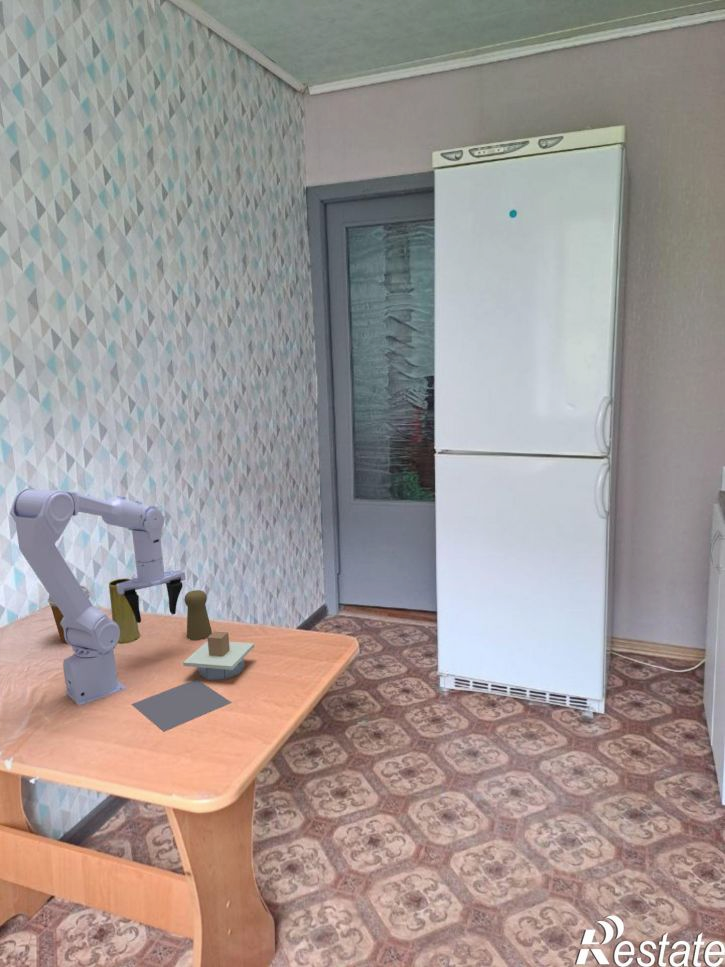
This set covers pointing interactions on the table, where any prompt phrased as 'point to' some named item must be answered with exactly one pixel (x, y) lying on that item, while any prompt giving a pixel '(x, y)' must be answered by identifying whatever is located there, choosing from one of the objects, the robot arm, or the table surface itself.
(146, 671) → the table surface
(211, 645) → the lid
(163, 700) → the mat
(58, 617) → the disposable coffee cup
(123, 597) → the vase
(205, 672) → the bowl
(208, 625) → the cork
